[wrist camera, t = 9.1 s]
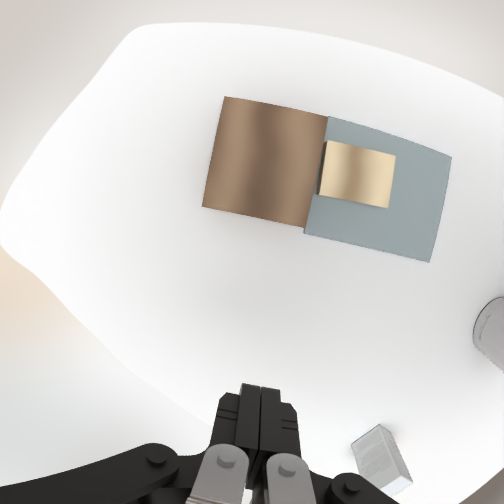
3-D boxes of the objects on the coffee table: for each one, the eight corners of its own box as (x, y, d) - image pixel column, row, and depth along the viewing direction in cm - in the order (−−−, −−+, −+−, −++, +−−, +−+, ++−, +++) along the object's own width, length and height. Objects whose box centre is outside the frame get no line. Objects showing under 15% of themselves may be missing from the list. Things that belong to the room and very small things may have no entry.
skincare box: (364, 453, 44) (379, 504, 33) (350, 444, 44) (364, 497, 32) (392, 433, 43) (414, 483, 31) (379, 422, 43) (401, 475, 31)
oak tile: (387, 157, 35) (395, 155, 32) (380, 206, 36) (387, 208, 33) (323, 143, 35) (327, 140, 32) (315, 194, 36) (319, 194, 33)
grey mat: (449, 157, 34) (451, 157, 34) (427, 261, 37) (429, 262, 37) (327, 117, 35) (328, 116, 34) (303, 232, 37) (304, 233, 37)
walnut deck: (322, 123, 35) (328, 117, 31) (301, 223, 37) (305, 227, 33) (229, 105, 35) (224, 96, 31) (208, 204, 37) (201, 206, 33)
